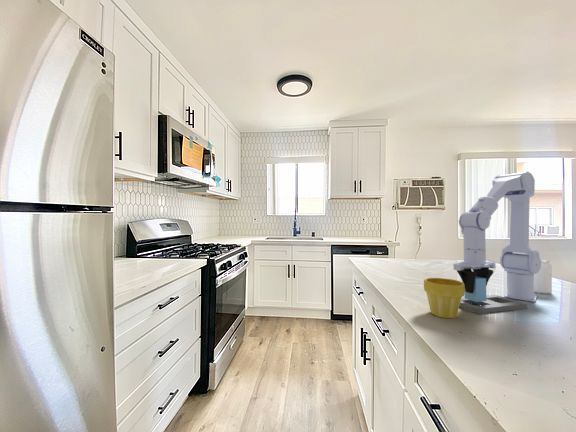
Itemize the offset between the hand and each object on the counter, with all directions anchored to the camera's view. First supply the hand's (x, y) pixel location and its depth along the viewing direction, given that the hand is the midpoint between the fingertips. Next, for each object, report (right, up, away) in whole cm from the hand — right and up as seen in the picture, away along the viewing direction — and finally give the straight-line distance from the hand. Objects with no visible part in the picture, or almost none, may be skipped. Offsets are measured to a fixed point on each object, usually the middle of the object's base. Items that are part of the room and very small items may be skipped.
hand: (475, 291), depth 83 cm
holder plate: (+5, -5, +1) cm, 7 cm away
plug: (0, -2, 0) cm, 2 cm away
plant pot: (-14, -5, -6) cm, 16 cm away
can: (+37, -5, +17) cm, 41 cm away
